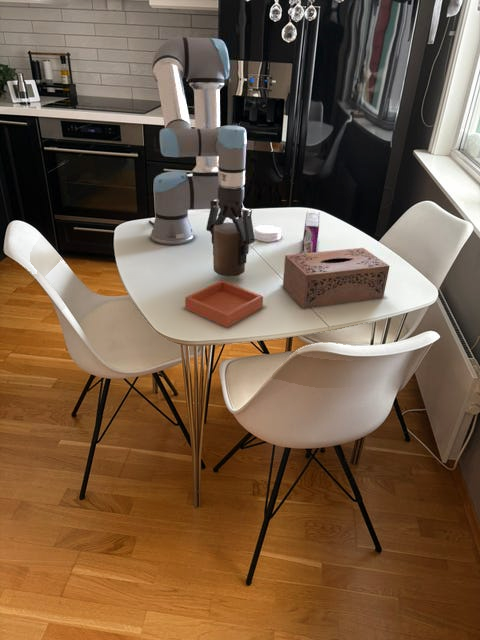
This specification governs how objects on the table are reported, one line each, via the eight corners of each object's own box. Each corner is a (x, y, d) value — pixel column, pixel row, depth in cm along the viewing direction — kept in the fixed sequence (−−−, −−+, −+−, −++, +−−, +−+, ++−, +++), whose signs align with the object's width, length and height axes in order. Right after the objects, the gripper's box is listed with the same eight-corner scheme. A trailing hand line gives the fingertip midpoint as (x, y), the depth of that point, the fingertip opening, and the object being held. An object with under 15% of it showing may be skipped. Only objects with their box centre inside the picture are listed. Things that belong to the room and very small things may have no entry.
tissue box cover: (302, 308, 134) (306, 275, 129) (282, 286, 146) (285, 255, 141) (383, 297, 141) (389, 265, 136) (358, 277, 153) (363, 247, 148)
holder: (185, 308, 132) (185, 297, 130) (221, 290, 142) (222, 280, 140) (227, 327, 123) (227, 315, 122) (262, 307, 134) (263, 296, 132)
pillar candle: (238, 279, 144) (240, 230, 136) (208, 273, 146) (208, 226, 139) (248, 266, 152) (251, 220, 144) (219, 261, 154) (220, 215, 147)
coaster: (261, 243, 176) (261, 234, 175) (249, 234, 184) (250, 225, 183) (285, 240, 180) (285, 231, 178) (273, 231, 188) (273, 223, 186)
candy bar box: (300, 256, 167) (303, 240, 181) (315, 257, 166) (316, 241, 181) (304, 224, 161) (306, 211, 176) (319, 226, 161) (320, 212, 175)
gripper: (193, 180, 139) (194, 252, 151) (254, 196, 127) (250, 273, 139) (211, 175, 144) (210, 246, 156) (270, 191, 133) (265, 265, 144)
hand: (229, 259), depth 147 cm, fingers closed on pillar candle, 10 cm apart
